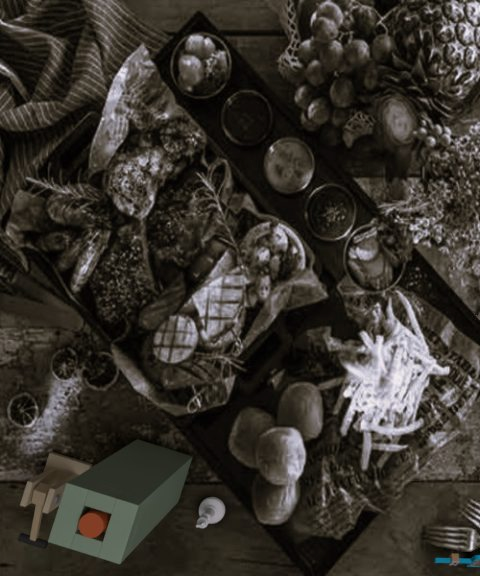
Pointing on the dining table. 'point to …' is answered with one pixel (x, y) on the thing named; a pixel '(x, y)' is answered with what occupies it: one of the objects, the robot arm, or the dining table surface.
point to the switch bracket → (54, 479)
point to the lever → (37, 517)
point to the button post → (121, 499)
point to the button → (93, 523)
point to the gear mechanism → (459, 560)
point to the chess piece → (210, 511)
